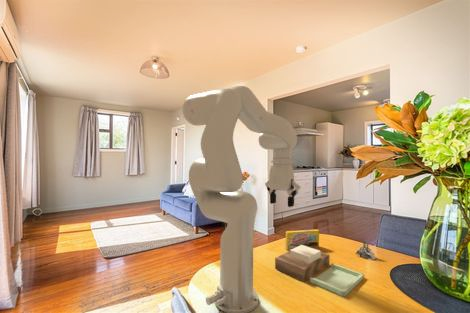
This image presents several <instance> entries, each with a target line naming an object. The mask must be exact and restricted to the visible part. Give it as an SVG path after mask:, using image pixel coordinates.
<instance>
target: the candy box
mask: <svg viewBox="0 0 470 313" xmlns="http://www.w3.org/2000/svg"><path fill="white" fill-rule="evenodd" d="M300 245H304V246H307V247H310V248H313V249H314V248H319V247H320V230H319V229H318V228H317V229H302V230H301V229H300V230H287V231H285V245H284V246H285V247H284V249H285V250H286V251H290V250H291V249H293V248H296V247H298V246H300Z"/></svg>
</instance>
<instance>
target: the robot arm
mask: <svg viewBox="0 0 470 313" xmlns="http://www.w3.org/2000/svg"><path fill="white" fill-rule="evenodd" d="M181 108H182V111H181V112H182V115H183V117H184V119H185V120H186V121H187V123H189V124H191V125H192V126H197V127H198V126H200V127H201V126H205V127H204V129H203V131H202V135H201V138H200V150H201V153H202V156H203V157H202V158H198V159H195V160H194V161H193V162H192V163H191V165H190V166H189V170H188V182H189V185H190V188H191V191H192V193H193V196H194V198H195V200H196V203H197V205H198V207H199V210H200V212H201V214H202V215H203V216H204V217H205V218H207V219H209V220H213V221H218V222H223V223H226V227H225V229H224V230H223V232H222V233H221V235H220V236H221V237H220V242H219V244H220V245H219V246H220V247H219V248H220V250H219V253H220V254H219V256H220V261H219V263H220V264H219V266H220V267H219V268H220V269H219V271H220V273H219V275H220V279H219V284H220V285H217V287H216V291H215V292H214V293H213V294H211V295H209V296H207V297H206V298H205V303H206V305H207V306H211V305H213V304H215V306H216V307H217V308H218V309H219V310H221V311H222V312H224V313H250V312H252V311H253V310H254V309H256V308H257V306H258V304H259V295H258V292H257V291H255V289H254V231H255V222H256V216H257V210H258V203H257V199H256V198H255V197H254V195H253V194H251V193H250V192H248V191H245V190H244V191H243V190H240V189H241V188H242V186H243V182H244V178H243V170H242V168H241V165H240V161H239V158H238V154H237V152H236V147H235V144H234V131H235V127H236V124H237V123H238V120H239V121H240V122H241V123H242V124H243V125H244V126H245V127H246V128H247V129H248V130H249V131H251V132H253V133H257V134H259V135H258V144H259V146H260V147H261V148H262V149H265V150H272V159H271V160H270V162H271V163H272V165H270V169H269V176H268V181H267V182H265V183H264V184H265V187H266V190H267V191H268V194H269V203H270V204H276V203H277V193H276V192H277V191H284V192H286V193H287V194H288V197H287V207H289V208H291V207H294V206H295V197H296V195H297V194H298V193H299V191H300V189H301V188H302V187H301V185H299V184H298V183H297V182H296V181H295V173H294V168H293V165H292V149H293V148H295V147H296V145H297V141H298V136H297V133H296V132H297V131H296V130H295V129H294V127H293V125H292V124H291V123H290V122H289V120H287V119H286V118H284V117H282V116H279V115H278V114H275V113H272V112H269V111H267V110H266V108H265V107H264V105H263V104H262V102H261V101H260V100H259V99H258V97H257V96H256V95H255V93H254V92H253V91H252V90H251V89H250V87H249V88H248V87H247V86H245V85H238V86H231V87H227V88H219V89H214V90H210V91H207V92H206V91H205V92H202V93H196V94H193V95H190V96H188V97H187V98H186V99H184V102H183V104H182V107H181Z"/></svg>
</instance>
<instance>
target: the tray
mask: <svg viewBox="0 0 470 313" xmlns="http://www.w3.org/2000/svg"><path fill="white" fill-rule="evenodd" d="M330 265H331V266H330V267H329V268H328V269H326V270H325V271H323V272H321V273H320V274H318V275H317V276H316V277H314V276H312V277H310V278H309V283H310V284H312V285H315V286H317V287H319V288H321V289H324V290H326V291H328V292H330V293H333V294H335V295H337V296H338V297H339V296H340V297H342V298H346V296H347V295H349V294H350V293H351V292H352V291H353V289H355V288H356V286H358V285H359V283H360V282H362V281H363V279H365V274H364V273H361V272H359V271H356V270H352V269H350V268H347V267H345V266H341V265H339V264H335V263H330ZM351 274H352V275H351ZM361 280H362V281H361Z"/></svg>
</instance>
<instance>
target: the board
mask: <svg viewBox="0 0 470 313" xmlns="http://www.w3.org/2000/svg"><path fill="white" fill-rule="evenodd" d="M274 260H275V261H274V264H275V265H274V268H275V270H277V271H279V272H281V273H283V274H286V275H288V276H291V277H293V278H295V279H297V280H300V281H302V282H303V283H305V282H306V281H308V280H310V277H314V276H316V275H317V274H318V273H320V272H322V270H324V269H325V268H327V267H328V266H330V265H331V263H330V260H331V259H330V254H328V253H326V252H322V251H321V258H319V259H317V260H316V261H314V262H312V263H310V264H308V263H305V262H303V261H300V260H297V259H295V258H292V257H290V250H288V252H287V251H286V253H283V254H281V255H279V256H277V257H275V258H274Z"/></svg>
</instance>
